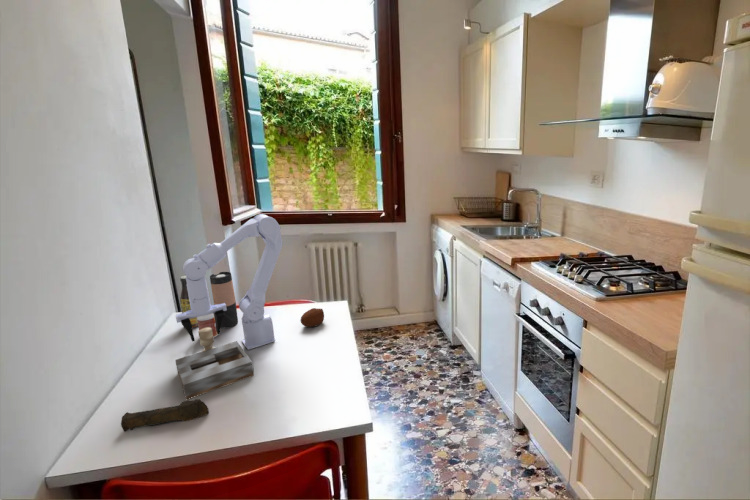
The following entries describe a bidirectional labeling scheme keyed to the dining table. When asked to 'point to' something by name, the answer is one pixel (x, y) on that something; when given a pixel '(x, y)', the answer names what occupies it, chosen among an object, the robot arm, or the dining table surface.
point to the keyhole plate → (213, 369)
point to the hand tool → (165, 414)
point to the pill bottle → (207, 323)
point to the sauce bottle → (186, 301)
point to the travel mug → (225, 297)
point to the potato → (312, 317)
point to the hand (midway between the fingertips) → (205, 336)
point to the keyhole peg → (206, 338)
